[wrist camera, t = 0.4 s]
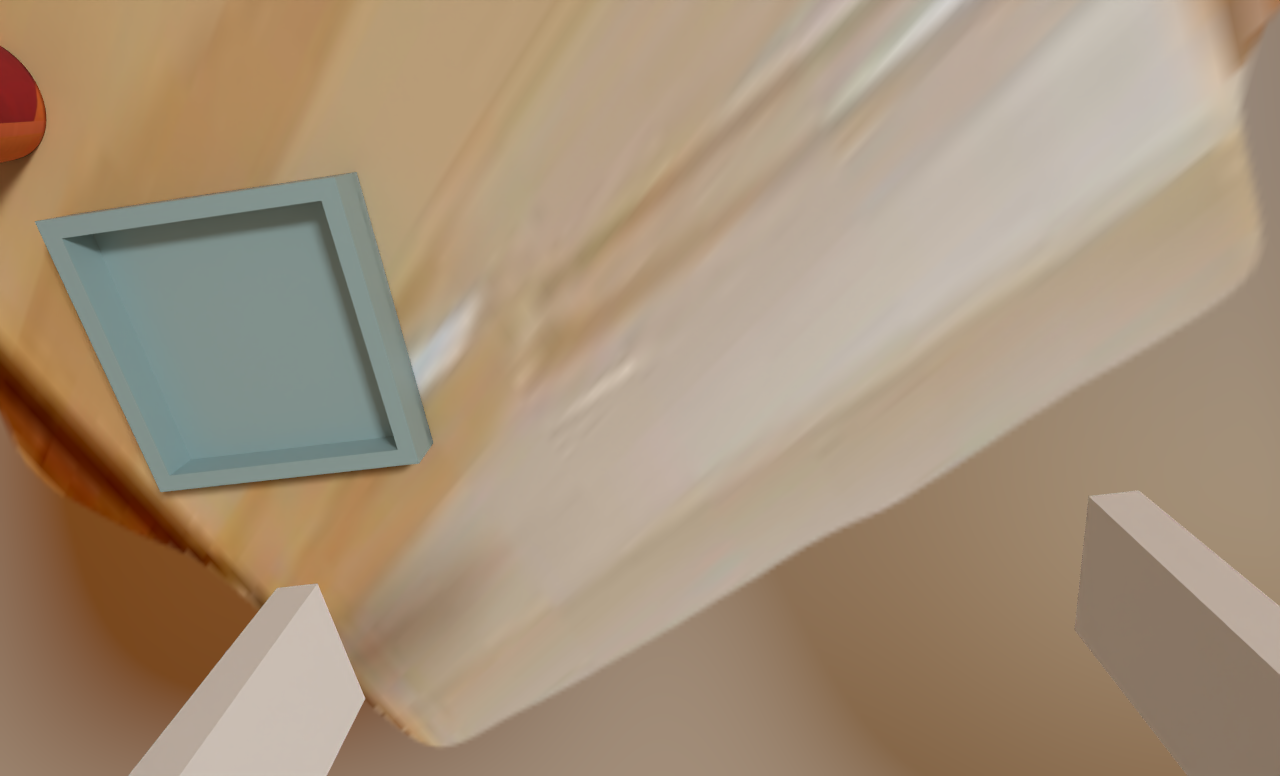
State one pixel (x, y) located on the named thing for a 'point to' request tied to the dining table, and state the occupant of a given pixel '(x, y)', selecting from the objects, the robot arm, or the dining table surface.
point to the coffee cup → (19, 109)
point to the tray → (246, 332)
